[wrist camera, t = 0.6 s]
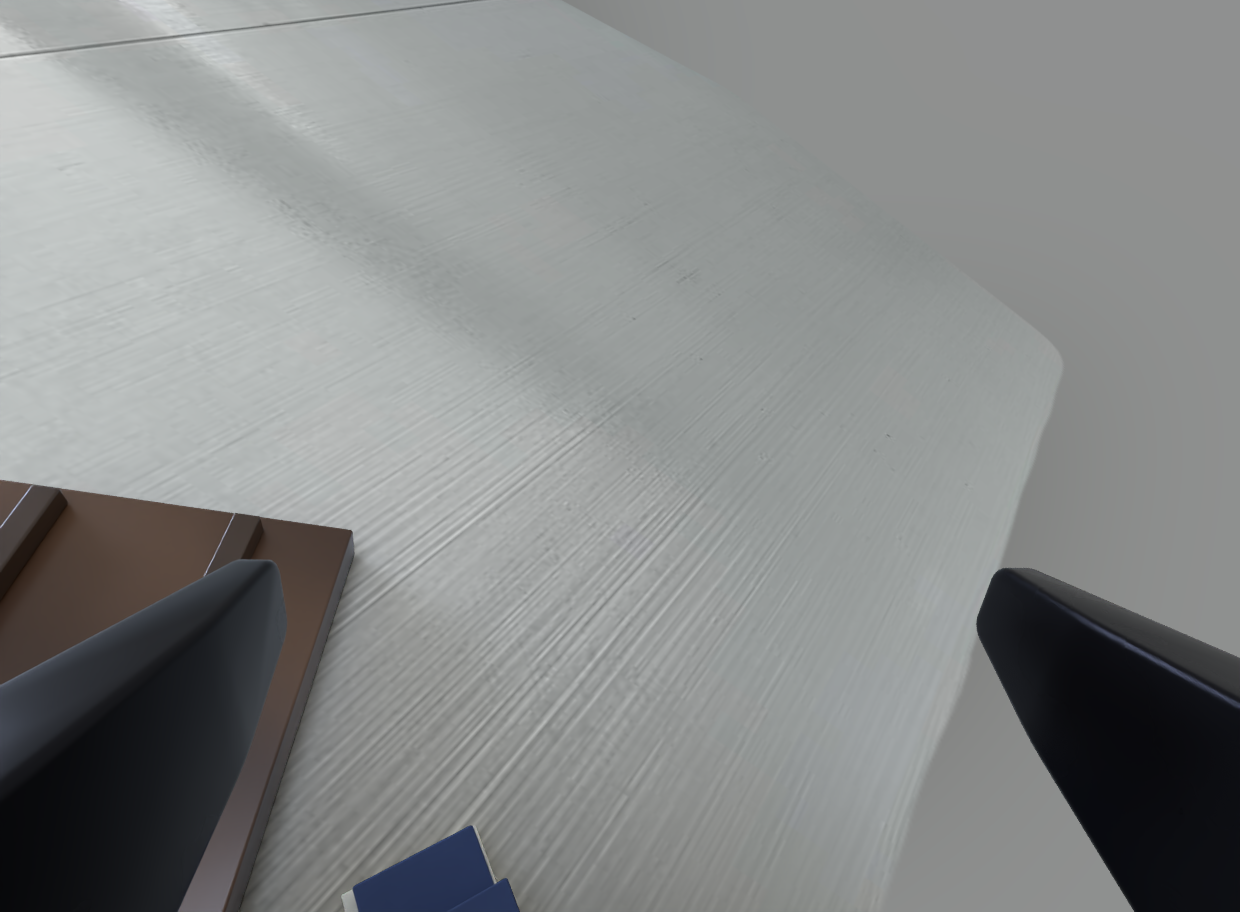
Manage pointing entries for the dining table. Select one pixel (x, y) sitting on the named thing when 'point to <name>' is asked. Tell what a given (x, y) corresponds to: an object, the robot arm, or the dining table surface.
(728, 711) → the dining table surface
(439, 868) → the stepped navy block
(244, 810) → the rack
